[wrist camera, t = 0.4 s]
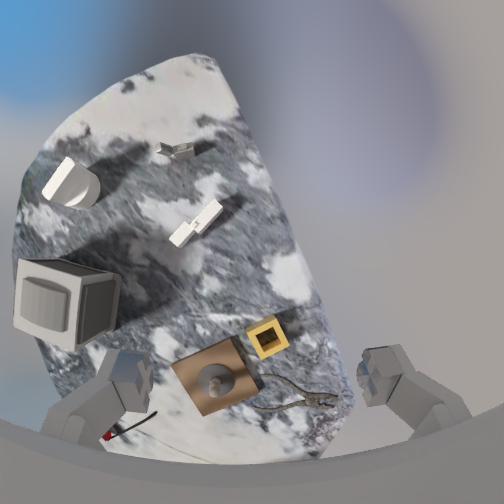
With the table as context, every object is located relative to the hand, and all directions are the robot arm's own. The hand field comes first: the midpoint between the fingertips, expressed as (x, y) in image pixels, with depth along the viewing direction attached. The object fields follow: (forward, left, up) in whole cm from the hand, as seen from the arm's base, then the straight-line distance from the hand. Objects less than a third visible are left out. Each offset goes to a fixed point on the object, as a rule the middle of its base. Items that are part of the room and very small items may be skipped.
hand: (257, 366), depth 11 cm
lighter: (+28, -1, -52) cm, 59 cm away
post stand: (-18, +13, -51) cm, 56 cm away
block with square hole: (-14, -1, -51) cm, 53 cm away
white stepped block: (+13, +2, -52) cm, 54 cm away
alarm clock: (+11, +32, -52) cm, 62 cm away
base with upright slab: (+32, +22, -52) cm, 65 cm away
